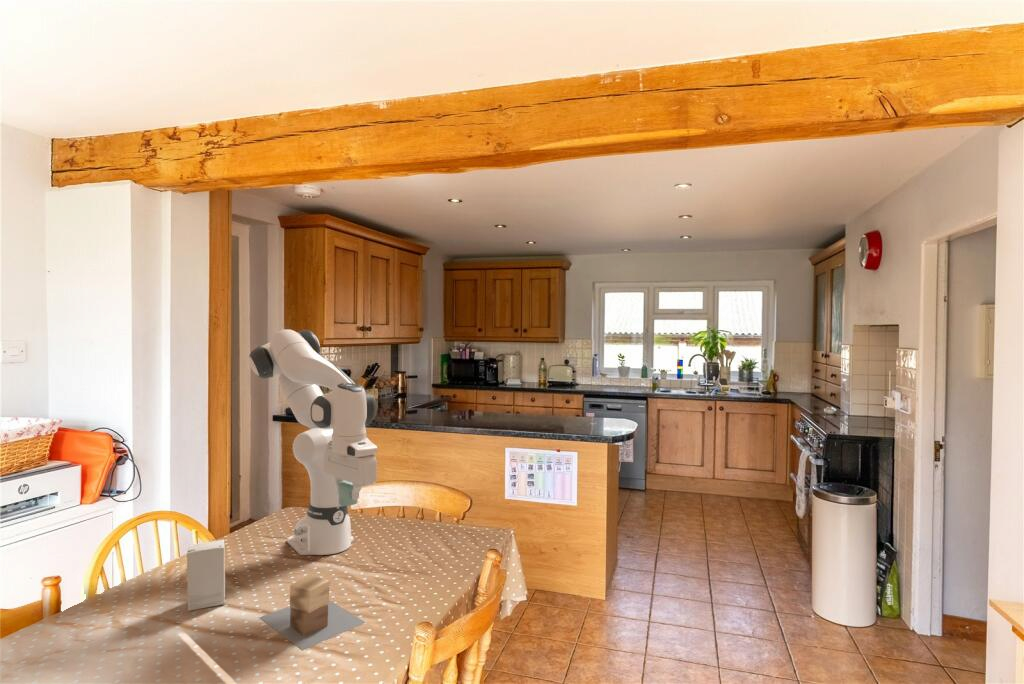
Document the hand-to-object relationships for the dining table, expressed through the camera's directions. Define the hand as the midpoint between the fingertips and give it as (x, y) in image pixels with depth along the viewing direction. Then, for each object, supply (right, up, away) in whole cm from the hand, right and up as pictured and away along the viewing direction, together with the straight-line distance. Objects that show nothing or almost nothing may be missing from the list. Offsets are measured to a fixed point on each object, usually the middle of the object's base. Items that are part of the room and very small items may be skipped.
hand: (347, 496), depth 147 cm
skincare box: (-33, -25, -9) cm, 42 cm away
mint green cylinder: (0, -2, 0) cm, 2 cm away
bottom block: (-3, -24, -20) cm, 32 cm away
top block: (-3, -19, -20) cm, 28 cm away
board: (-3, -25, -17) cm, 31 cm away
